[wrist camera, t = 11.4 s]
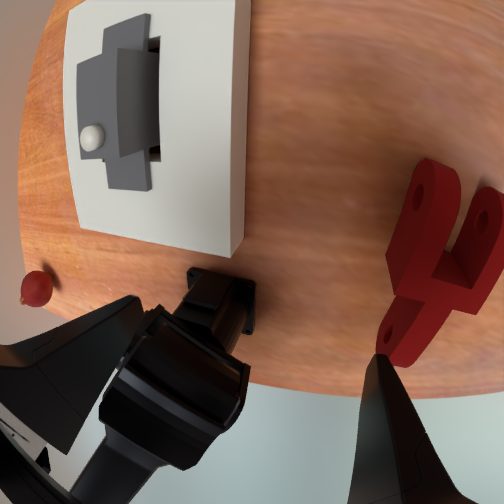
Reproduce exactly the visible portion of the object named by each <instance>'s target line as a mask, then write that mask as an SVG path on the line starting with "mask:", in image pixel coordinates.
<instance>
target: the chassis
mask: <svg viewBox="0 0 504 504" xmlns="http://www.w3.org/2000/svg"><path fill="white" fill-rule="evenodd" d="M144 13H147V14H150V15H151V18H150V30H149V45H148V50H149V49H153V48H157V47H160V62H159V125H160V149H161V153H149V158H150V171H151V183H152V189H151V190H150V191H148V192H144V191H132V190H119V189H109V188H108V181H107V174H106V165H105V159H87V160H81V157H80V148H79V137H78V124H77V102H76V73H77V64H78V63H80V62H83V61H85V60H87V59H90V58H92V57H94V56H97V55H99V54H102V43H103V31H104V29H105V28H107V27H109V26H112V25H114V24H117V23H119V22H122V21H124V20H127V19H130V18H132V17H135V16H138V15H141V14H144ZM250 20H251V0H86V1H85V2H83V3H81V4H80V5H78V6H76V7H75V8H73V9H71V10H70V11H69V15H68V22H67V30H66V38H65V50H64V67H63V109H64V126H65V138H66V148H67V157H68V164H69V171H70V178H71V184H72V189H73V195H74V200H75V205H76V209H77V214H78V219H79V223H80V227H81V228H85V229H89V230H94V231H99V232H104V233H109V234H113V235H118V236H123V237H128V238H133V239H138V240H143V241H147V242H152V243H157V244H162V245H167V246H172V247H177V248H182V249H187V250H192V251H197V252H202V253H207V254H213V255H218V256H223V257H228V258H231V256H232V255H233V254H234V252H235V251H236V249H237V248H238V247H239V245H240V244H241V242H242V241H243V239H244V213H245V171H246V135H247V102H248V72H249V45H250Z"/></svg>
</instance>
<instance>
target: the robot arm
mask: <svg viewBox="0 0 504 504" xmlns="http://www.w3.org/2000/svg"><path fill="white" fill-rule="evenodd" d="M192 273H193V274H194V275H193V274H192ZM187 281H188V289H189V291H188V292H187V293H186V295H185V296H184V297H183V301H182V302H181V303H180V305H179V306H178V307H177V308H176V310H175V311H174V312H173V314H170V313H169V312H168V311H166V310H165V308H164V307H163V306H162V305H160V304H159V305H158V306H157V307H156V308H155V309H154V310H153V309H151V310H150V311H148V310H146V311H145V312H144V311H143V307H142V304H141V300H140V298H139V297H138V296H135V295H128V296H125V297H123V298H121V299H119V300H116V301H114V302H112V303H110V304H107V305H105V306H103V307H101V308H98V309H96V310H94V311H92V312H89V313H87V314H85V315H83V316H81V317H78V318H76V319H74V320H72V321H69V322H67V323H65V324H63V325H61V326H59V327H56V328H54V329H52V330H49V331H47V332H45V333H42V334H40V335H37V336H35V337H32V338H29V339H26V340H24V341H21V342H18V343H15V344H12V345H0V489H1V490H2V491H3V493H4V494H5V495H6V496H7V497H8V499H9V500H10V501H11V502H12V503H13V504H129V502H130V501H131V500H132V499H133V497H134V496H135V495H136V494H137V493H138V492H139V490H140V489H141V488H142V487H143V485H144V484H145V483H146V482H147V481H148V479H149V478H150V477H151V476H152V474H153V473H154V472H155V471H156V470H157V468H159V467H162V466H167V465H172V466H174V467H176V468H178V469H180V470H182V471H184V470H186V469H189V468H191V467H193V466H195V465H196V464H197V463H198V462H199V460H200V459H201V457H202V456H203V454H204V453H205V451H206V450H207V449H208V447H209V446H210V445H211V443H212V442H213V441H214V440H215V439H216V438H217V437H218V436H219V435H220V434H222V433H224V432H225V431H227V430H228V429H229V428H230V427H231V426H232V425H233V424H234V423H235V422H236V420H237V419H238V417H239V415H240V413H241V411H242V409H243V407H244V404H245V399H246V393H247V387H248V381H249V375H250V369H251V366H249V365H248V364H246V363H242V362H241V361H239V360H238V359H236V358H235V357H233V356H231V353H232V351H233V349H234V347H235V345H236V343H237V341H238V338H239V336H240V334H241V333H242V334H246V335H252V334H253V331H254V321H255V303H256V284H255V282H253V281H251V280H247V279H242V278H237V277H232V276H228V275H223V274H218V273H214V272H209V271H205V270H200V269H196V268H190V269H189V270H188V271H187ZM248 285H250V286H251V287H249V286H248ZM115 368H116V369H117V370H118V372H117V373H116V375H115V376H114V378H113V380H112V381H111V383H110V384H109V386H108V387H107V389H106V391H105V392H104V394H103V399H102V402H101V403H100V405H99V421H100V422H102V423H103V424H105V430H106V436H105V437H104V439H103V440H102V442H101V443H100V445H99V446H98V448H97V449H96V451H95V452H94V454H93V455H92V457H91V458H90V460H89V461H88V463H87V464H86V466H85V467H84V469H83V470H82V472H81V474H80V475H79V477H78V478H77V480H76V481H75V483H74V484H73V486H72V487H71V489H70V491H69V492H68V491H67V490H65V489H64V488H63V487H62V486H61V485H60V484H58V483H57V482H56V481H55V480H54V479H53V478H51V477H50V476H49V475H48V474H49V473H50V471H51V469H50V463H49V457H48V450H47V448H46V447H45V445H46V444H47V443H49V444H51V445H52V446H53V447H55V448H56V449H57V450H59V451H60V452H62V453H63V454H65V455H67V454H68V452H69V450H70V449H71V447H72V445H73V443H74V441H75V439H76V437H77V435H78V433H79V431H80V429H81V428H82V426H83V424H84V422H85V420H86V418H87V416H88V415H89V413H90V411H91V409H92V407H93V406H94V404H95V402H96V400H97V399H98V397H99V395H100V393H101V392H102V390H103V388H104V386H105V385H106V383H107V381H108V380H109V378H110V376H111V374H112V373H113V371H114V370H115ZM425 432H426V430H425V428H424V426H423V424H422V422H421V420H420V418H419V416H418V414H417V412H416V410H415V407H414V406H413V404H412V402H411V399H410V398H409V396H408V394H407V392H406V390H405V388H404V386H403V384H402V382H401V380H400V378H399V376H398V375H397V373H396V371H395V369H394V367H393V365H392V363H391V362H390V360H389V358H388V356H387V355H386V354H381V353H376V354H374V356H373V358H372V359H371V361H370V363H369V365H368V367H367V369H366V374H365V381H364V387H363V393H362V399H361V404H360V412H359V423H358V434H357V445H356V452H355V460H354V468H353V474H352V480H351V486H350V492H349V498H348V503H347V504H478V503H476V502H474V501H472V500H470V499H468V498H467V497H465V496H464V495H462V494H461V493H460V492H459V491H458V490H457V488H456V487H455V485H454V483H453V482H452V480H451V478H450V476H449V475H448V473H447V471H446V469H445V468H444V466H443V464H442V463H441V460H440V459H439V457H438V455H437V453H436V452H435V449H434V447H433V445H432V443H431V441H430V439H429V437H428V434H427V433H425Z"/></svg>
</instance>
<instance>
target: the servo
mask: <svg viewBox="0 0 504 504" xmlns="http://www.w3.org/2000/svg"><path fill="white" fill-rule="evenodd" d="M150 18H151V15H150V14H147V13H144V14H141V15H138V16H135V17H132V18H130V19H127V20H124V21H122V22H119V23H117V24H114V25H112V26H109V27H107V28H105V29H104V31H103V43H102V54H99V55H97V56H94V57H92V58H90V59H87V60H85V61H83V62H80V63H78V64H77V73H76V102H77V124H78V137H79V148H80V157H81V160H87V159H105V165H106V174H107V181H108V188H109V189H119V190H132V191H144V192H148V191H150V190H151V189H152V183H151V171H150V158H149V148H151V147H155V146H158V145H160V125H159V62H160V53H154V52H148V45H149V30H150Z"/></svg>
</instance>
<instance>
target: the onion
mask: <svg viewBox="0 0 504 504" xmlns="http://www.w3.org/2000/svg"><path fill="white" fill-rule="evenodd" d="M52 293H53V277H52V276H51V275H50V274H47V273H44V272H41V271H32V272H30V273H28V274H27V275H26V276H25V278H24V279H23V282H22V285H21V298H20V300H19V302H20V304H21V305H24V304H27V305H29V306H32V307H41V306H44V305H45V304H47V303H48V302H49V300H50V299H51V296H52Z"/></svg>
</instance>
